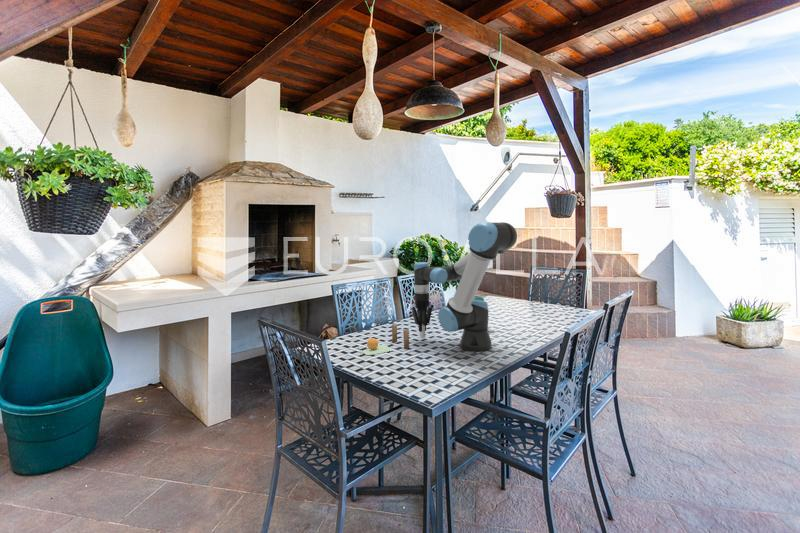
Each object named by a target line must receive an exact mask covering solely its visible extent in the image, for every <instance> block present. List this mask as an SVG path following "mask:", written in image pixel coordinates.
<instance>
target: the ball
mask: <svg viewBox="0 0 800 533" xmlns="http://www.w3.org/2000/svg"><path fill="white" fill-rule="evenodd" d="M378 344H379V341H378V339H377V338H374V337H371V338H369V339H368V340H367V342H366V346H368V348H369V349H371V350H374V349H376V348H377V347H378Z"/></svg>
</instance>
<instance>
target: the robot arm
mask: <svg viewBox="0 0 800 533" xmlns="http://www.w3.org/2000/svg"><path fill="white" fill-rule="evenodd" d="M517 239H518V232H517V230H516V229H515V227H514V226H513V225H512V224H511V223H507V222H505V221H504V222H502V221H501V222H490V221H485V222H478V223H477V224H475V225H474V226H472V228H471V229H470V230H469V233H468V236H467V240H468V245H469V248H468V250H469V251H470V252H469V253H467V254H466V255H464V256H463V257H461V258H460V259H458V260H457V261H456V262H455V263H453V264H451V265H447V266H437V267H435V266H433V267H432V266H431V267H430V264H429V262H426V261H421V262H420V261H419V262H418V261H417V262H415V263H414V265H413V266H414V267H413V274H414V275H413V276H414V277H413V278H414V279H413V281H414V303H413V305H412V306H410V311H411V313H412V316H413V321H414V324H415V325H417V326H418V332H419V338H422V339H425V338H426V332H427V326H428V324H430V323H431V317H432V312H433V309H434V307H435V306H434V304H432V303H431V302H430V283H433V284H436V285H437V284H444V283H447V282H453V281H459V283H458V285H457V287H456V290H455V293H454V295H453V296H452V297H450V298H449V299H448V301H447V304H446V306H443V307H440V308H439V310H438V312H437V313H438V314H437V317H438V318H437V319H438V322H439V324H440V326H441V328H442V329H443V330H444V331H446V332H448V333H449V332H450V333H453V332H458V331H461V330H462V331H463V332H462V335H461V339H460V340H459V347H460V348H461V349H463V350H466V351H471V352H485V351H488V350H491V349H492V348H493V347H492V346H493V345H492V341H491V337H490V333H489V319H488V316H489V308H488V307H489V306H488V302H487V301H485V300H484V301H481V300H474V297H476V295H477V292H478V290H479V287H480V285H481V283H482V281H483V278H484V276H485V274H486V271H487V269H488V267H489V264H490V262H491V261H494V260H495V259H496V258H497V255H498V254H499V255H502V254H504V253H505V252H507V251H508V250H510V249H511V248H513V247H514V246H515V244H516V243H517Z"/></svg>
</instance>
